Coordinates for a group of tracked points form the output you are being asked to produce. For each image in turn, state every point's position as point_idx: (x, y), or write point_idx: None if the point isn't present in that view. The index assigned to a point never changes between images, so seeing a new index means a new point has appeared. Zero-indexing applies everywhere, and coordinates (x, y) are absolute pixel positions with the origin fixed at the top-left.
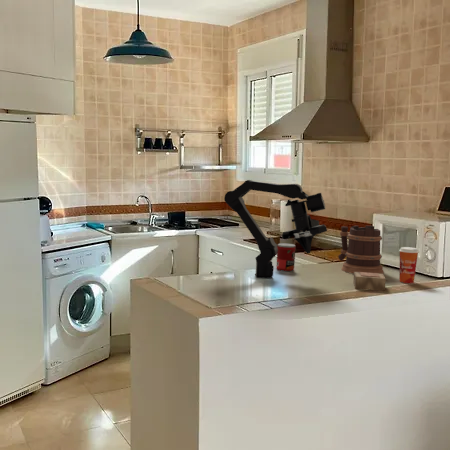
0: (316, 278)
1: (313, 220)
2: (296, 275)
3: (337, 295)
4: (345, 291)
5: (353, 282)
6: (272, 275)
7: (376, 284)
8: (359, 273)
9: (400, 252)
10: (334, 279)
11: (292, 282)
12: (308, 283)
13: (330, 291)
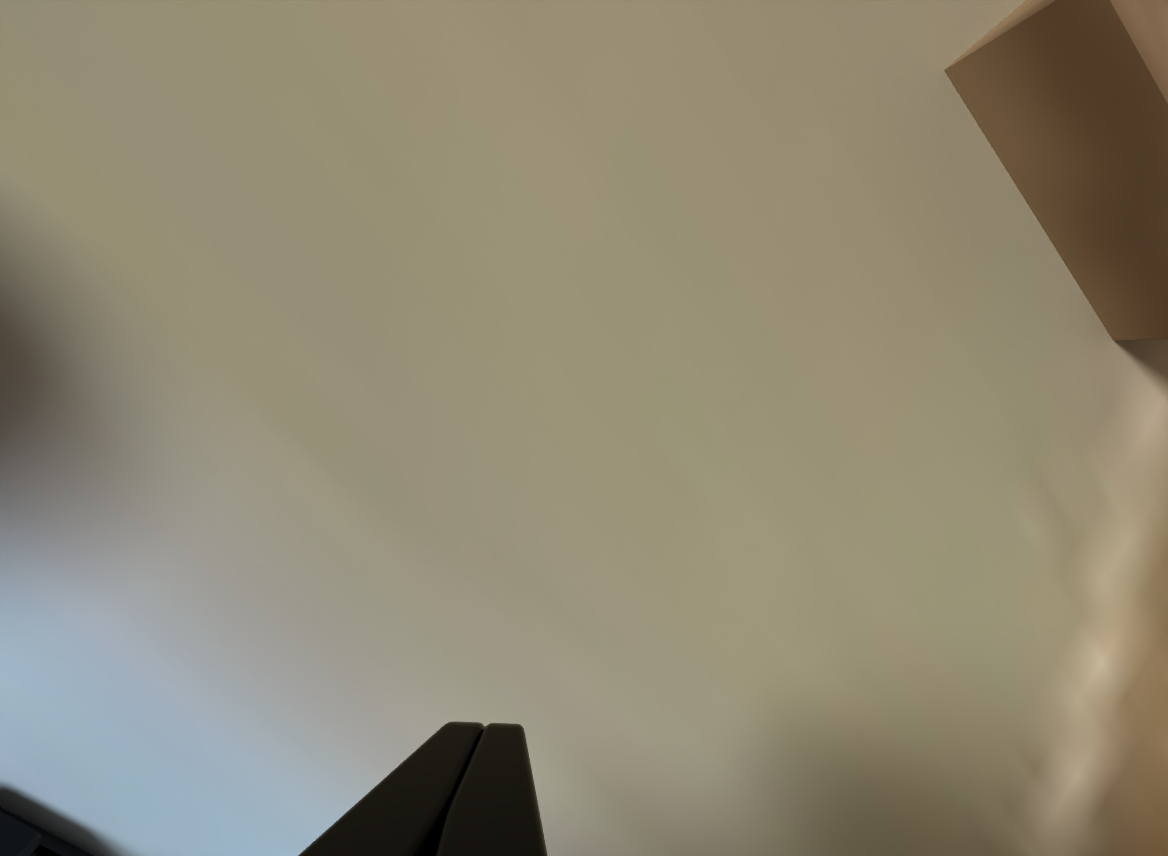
0: (441, 247)
1: None
2: (94, 344)
3: (1161, 788)
4: (1120, 566)
5: (969, 80)
6: (38, 848)
7: None
8: None
9: None
10: (635, 57)
11: None
12: (619, 628)
13: (1027, 717)
